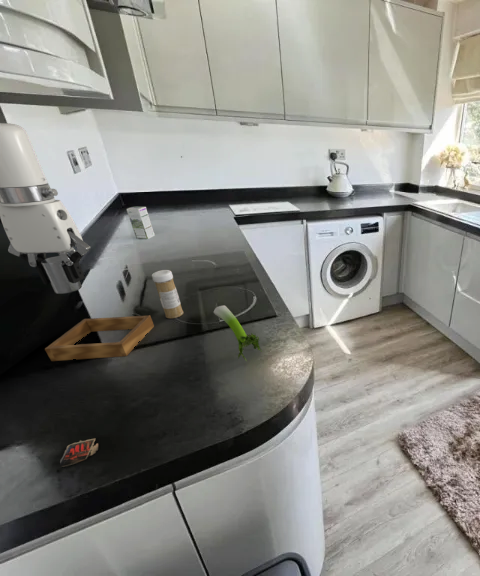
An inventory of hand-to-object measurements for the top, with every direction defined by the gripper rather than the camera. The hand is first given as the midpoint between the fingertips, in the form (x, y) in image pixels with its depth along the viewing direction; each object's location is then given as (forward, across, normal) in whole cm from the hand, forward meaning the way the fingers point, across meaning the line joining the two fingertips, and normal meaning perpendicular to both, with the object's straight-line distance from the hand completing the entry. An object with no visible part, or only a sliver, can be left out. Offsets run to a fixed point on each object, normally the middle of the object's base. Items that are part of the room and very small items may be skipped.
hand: (64, 280), depth 70 cm
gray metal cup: (+2, 0, 0) cm, 2 cm away
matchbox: (+19, -15, +30) cm, 38 cm away
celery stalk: (+19, -31, -2) cm, 37 cm away
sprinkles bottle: (+19, -12, -15) cm, 27 cm away
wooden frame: (+19, 0, -3) cm, 19 cm away
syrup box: (+19, +34, -95) cm, 102 cm away
